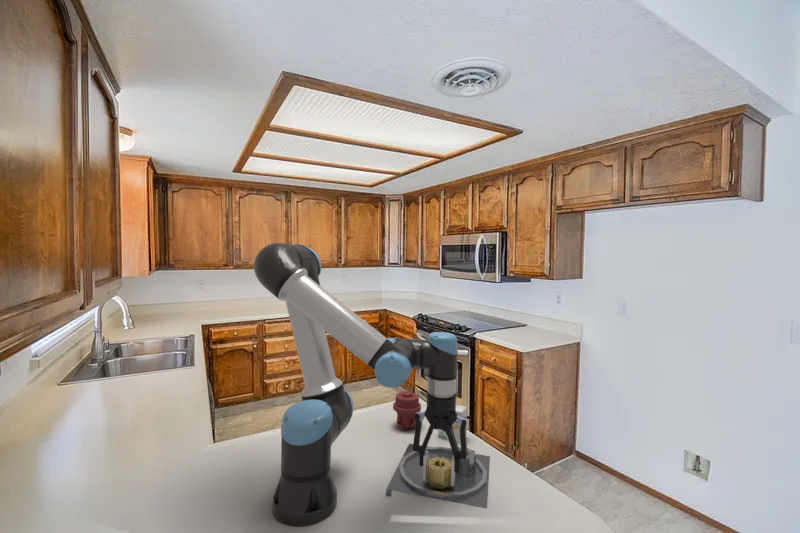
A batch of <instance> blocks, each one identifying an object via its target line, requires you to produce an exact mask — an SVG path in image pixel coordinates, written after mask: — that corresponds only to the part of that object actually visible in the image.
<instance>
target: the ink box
mask: <svg viewBox="0 0 800 533" xmlns="http://www.w3.org/2000/svg"><path fill="white" fill-rule="evenodd" d="M456 413H457V416H460V417H462V418H463V417H466V418H467V419H468V414H467V413H468V408H467V407H466V406H463V405H460V404H456ZM467 423H468V422H467ZM467 423H466V427H465V428H466V433H467V427H468V426H467ZM452 427H453V432H454V435H455V439H456V442H457V444H461V441H460V426H458V422H457V421H455V422H454V423H453V425H452ZM437 430H438V432H437V434H438V435H437V436H438V438H439V439H442V440H446V441H449V439H448V436H447V434H446V431H445V430H441V429H437Z"/></svg>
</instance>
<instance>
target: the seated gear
mask: <svg viewBox="0 0 800 533" xmlns="http://www.w3.org/2000/svg"><path fill="white" fill-rule="evenodd" d="M458 448H459V452H461V446H458ZM475 454H476V451H475V450H474V449H470V448H469V447H467V456H466V459H460V468H459V471H458V472H457V473H459V475H471V474H472V473H473V472H476V455H475ZM452 456H453V452H452Z"/></svg>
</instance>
